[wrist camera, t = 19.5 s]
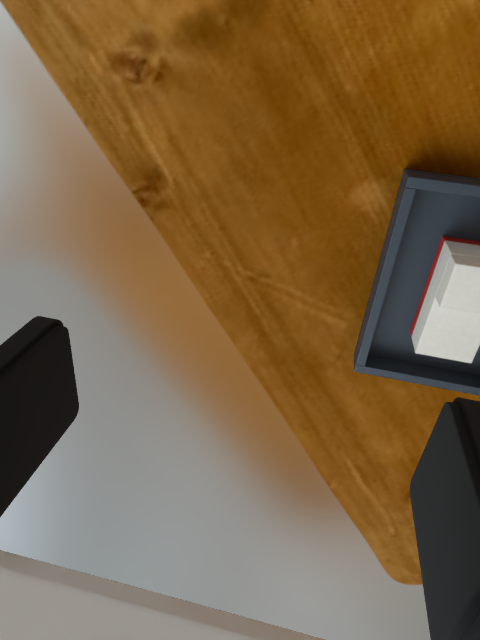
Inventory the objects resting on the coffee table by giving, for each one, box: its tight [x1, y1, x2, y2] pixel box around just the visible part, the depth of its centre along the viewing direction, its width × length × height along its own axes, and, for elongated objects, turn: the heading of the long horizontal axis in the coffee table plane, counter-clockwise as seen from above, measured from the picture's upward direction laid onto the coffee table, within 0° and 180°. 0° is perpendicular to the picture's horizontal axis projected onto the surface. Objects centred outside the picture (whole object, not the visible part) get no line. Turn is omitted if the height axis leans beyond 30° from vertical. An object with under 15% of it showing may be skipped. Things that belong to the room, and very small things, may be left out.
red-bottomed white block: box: [410, 236, 480, 363], centre depth 35 cm, size 9×4×5 cm, turn 175°
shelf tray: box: [354, 169, 480, 395], centre depth 36 cm, size 18×13×3 cm
